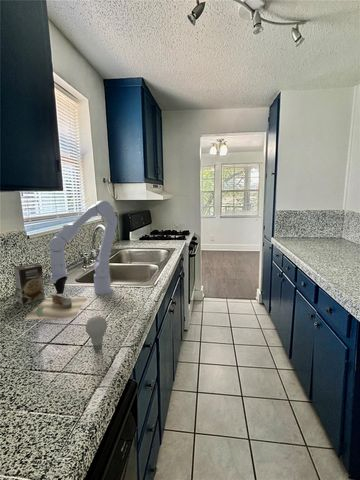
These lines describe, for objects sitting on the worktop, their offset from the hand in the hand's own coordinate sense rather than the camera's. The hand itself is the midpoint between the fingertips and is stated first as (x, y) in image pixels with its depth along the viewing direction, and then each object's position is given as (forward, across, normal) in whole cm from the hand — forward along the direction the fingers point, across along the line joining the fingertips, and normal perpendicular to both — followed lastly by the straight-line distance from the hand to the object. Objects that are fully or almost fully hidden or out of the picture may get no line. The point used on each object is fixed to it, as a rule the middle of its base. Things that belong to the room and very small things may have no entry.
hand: (60, 293), depth 113 cm
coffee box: (+3, +1, -12) cm, 13 cm away
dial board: (+3, +10, +3) cm, 11 cm away
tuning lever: (+2, +8, +3) cm, 8 cm away
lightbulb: (+3, +40, +25) cm, 47 cm away
